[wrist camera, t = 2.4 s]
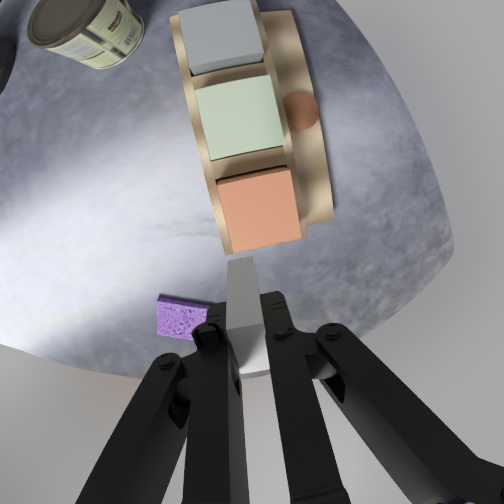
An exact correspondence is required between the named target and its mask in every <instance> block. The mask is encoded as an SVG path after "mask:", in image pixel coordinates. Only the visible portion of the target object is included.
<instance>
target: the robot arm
mask: <svg viewBox="0 0 504 504" xmlns="http://www.w3.org/2000/svg"><path fill="white" fill-rule="evenodd" d="M1 1H2V0H0V3H1ZM14 58H15V44H14V42H13V40H12V39H11V38H9V37H5V36H0V94H1V92H2V91H3V89H4V87H5V85H6V83H7V80H8V78H9V76H10V73H11V70H12V67H13V63H14ZM191 334H192V337H193V339H194V342H195V344H196V346H197V351H196V352H194V353H193V354H191V355H188V356H185V357H183V358H180V356H179V355H177V354H175V353H165V354H162V355H160V356H159V357H157V358H156V359H155V360H154V361H153V363H152V365H151V366H150V368H149V370H148V371H147V373H146V375H145V377H144V378H143V380H142V382H141V383H140V385H139V387H138V389H137V390H136V392H135V394H134V396H133V397H132V399H131V401H130V403H129V405H128V406H127V408H126V410H125V411H124V413H123V415H122V417H121V419H120V420H119V422H118V424H117V426H116V428H115V429H114V431H113V433H112V435H111V437H110V439H109V440H108V442H107V444H106V446H105V447H104V449H103V451H102V453H101V455H100V457H99V459H98V461H97V462H96V464H95V466H94V468H93V470H92V472H91V474H90V476H89V478H88V480H87V481H86V483H85V485H84V487H83V489H82V491H81V493H80V495H79V497H78V499H77V501H76V503H75V504H161V503H162V500H163V497H164V495H165V492H166V490H167V487H168V485H169V482H170V479H171V477H172V474H173V471H174V469H175V466H176V464H177V461H178V458H179V456H180V453H181V451H182V448H183V445H184V443H185V440H186V437H187V444H186V456H185V457H186V458H185V470H184V484H183V499H182V503H181V504H250V502H249V489H248V477H247V463H246V450H245V449H246V448H245V434H244V418H243V402H242V384H241V380H240V377H239V371H240V374H244V373H250V372H256V371H262V370H267V369H270V373H271V379H272V385H273V392H274V398H275V404H276V411H277V417H278V423H279V429H280V435H281V442H282V448H283V455H284V461H285V467H286V474H287V480H288V486H289V492H290V503H291V504H351V502H350V499H349V496H348V493H347V491H346V489H345V488H344V487H343V484H342V481H341V478H340V474H339V471H338V467H337V463H336V460H335V456H334V453H333V449H332V446H331V442H330V439H329V435H328V432H327V429H326V425H325V422H324V418H323V415H322V412H321V408H320V405H319V401H318V398H317V395H316V392H315V388H314V385H313V381H312V379H319V380H320V382H321V384H322V385H323V386H324V388H325V389H326V390H327V392H328V393H329V395H330V396H331V397H332V399H333V400H334V402H335V403H336V404H337V406H338V407H339V408H340V409H341V411H342V412H343V414H344V415H345V416H346V418H347V419H348V421H349V422H350V423H351V425H352V426H353V427H354V428H355V430H356V431H357V433H358V434H359V435H360V437H361V438H362V439H363V441H364V442H365V443H366V445H367V446H368V447H369V449H370V450H371V451H372V453H373V454H374V455H375V457H376V458H377V459H378V461H379V462H380V463H381V465H382V466H383V467H384V469H385V470H386V471H387V472H388V474H389V475H390V476H391V478H392V479H393V480H394V481H395V483H396V484H397V485H398V487H399V488H400V489H401V490H402V492H403V493H404V494H405V496H406V497H407V498H408V499H409V500H410V501H411V502H412V504H504V467H502V466H499V465H496V464H494V463H491V462H488V461H486V460H483V459H481V458H478V457H477V456H476V455H475V454H474V453H473V452H472V451H471V450H470V449H469V448H468V447H467V446H466V445H465V444H464V443H463V442H462V441H461V440H460V439H459V438H458V437H457V436H456V435H455V434H454V433H453V432H452V431H451V430H450V429H449V428H448V427H447V426H446V425H445V424H444V423H443V422H442V421H441V420H440V419H439V418H438V417H437V416H436V415H435V414H434V413H433V412H432V411H431V410H430V409H429V408H428V407H427V406H426V405H425V404H424V403H423V402H422V401H421V400H420V399H419V398H418V397H417V396H416V395H415V394H414V393H413V392H412V391H411V390H410V389H409V388H408V387H407V386H406V385H405V384H404V383H403V382H402V381H401V380H400V379H399V378H398V377H397V376H396V375H395V374H394V373H393V372H392V371H391V370H390V369H389V368H388V367H387V366H386V365H385V364H384V363H383V362H382V361H381V360H380V359H379V358H378V357H377V356H376V355H375V354H374V353H373V352H372V351H371V350H370V349H369V348H368V347H367V346H365V345H364V344H363V343H362V342H361V341H360V340H359V339H358V338H357V337H356V336H355V335H354V334H353V333H352V332H351V331H350V330H349V329H348V328H347V327H346V326H344V325H342V324H339V323H329V324H325V325H323V326H321V327H320V328H319V329H318V330H317V333H305V332H301V331H299V330H297V329H296V328H295V327H294V325H293V322H292V319H291V316H290V313H289V310H288V307H287V303H286V300H285V297H284V295H283V294H282V293H280V292H279V291H275V292H270V293H265V294H260V291H259V286H258V281H257V276H256V271H255V267H254V262H253V257H252V256H251V257H246V258H241V259H236V260H231V261H228V272H227V302H221V303H216V304H211V306H210V307H209V308H208V310H207V314H206V321H205V322H204V323H201V324H199V325H197V326H196V327H195V328H194V329H193V330H192V333H191Z"/></svg>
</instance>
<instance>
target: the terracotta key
mask: <svg viewBox="0 0 504 504" xmlns="http://www.w3.org/2000/svg"><path fill="white" fill-rule="evenodd" d="M217 188H218V192H219V196H220V200H221V204H222V208H223V212H224V216H225V220H226V224H227V228H228V232H229V236H230V240H231V244H232V248H233V252H234V253H237V252H241V251H246V250H250V249H255V248H259V247H264V246H268V245H273V244H277V243H282V242H286V241H291V240H295V239H300V238H301V231H300V225H299V219H298V212H297V206H296V200H295V194H294V189H293V183H292V177H291V172H290V170H289V169H287V168H285V167H283V166H277V167H272V168H266V169H262V170H257V171H252V172H247V173H243V174H238V175H234V176H229V177H225V178H221V179H219V181H218V184H217Z"/></svg>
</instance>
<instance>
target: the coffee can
mask: <svg viewBox="0 0 504 504" xmlns="http://www.w3.org/2000/svg"><path fill="white" fill-rule="evenodd" d="M143 34H144V22H143V20H142V18H141V17H140V16H139V15H138V14H137V13H136V12H135V11H134V9H133V8H132V7H131V6H130V5H129V3H128V2H127V1H126V0H40V1H39V2H38V4H37V5H36V7H35V8H34V10H33V12H32V14H31V16H30V19H29V22H28V26H27V38H28V40H29V42H30V44H31V45H33V46H34V47H37V48H42V49H47V50H50V51H52V52H55V53H58V54H61V55H63V56H66V57H69V58H71V59H74V60H76V61H79V62H81V63H84V64H86V65H88V66H90V67H92V68H95V69H107V68H111V67H113V66H116V65H118V64H120V63H122V62H123V61H124V60H126V59H127V58H128V57H129V56H131V55H132V54H133V53H134V51H135V50H136V49H137V47H138V46H139V44H140V42H141V40H142V38H143Z"/></svg>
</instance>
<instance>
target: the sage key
mask: <svg viewBox="0 0 504 504" xmlns="http://www.w3.org/2000/svg"><path fill="white" fill-rule="evenodd" d="M194 91H195V95H196V99H197V104H198V108H199V113H200V117H201V121H202V126H203V130H204V134H205V138H206V143H207V147H208V151H209V155H210V159H211V160H215V159H219V158H223V157H227V156H231V155H236V154H240V153H245V152H250V151H255V150H260V149H265V148H270V147H275V146H281V145H285V141H284V136H283V131H282V126H281V122H280V117H279V112H278V108H277V103H276V99H275V95H274V90H273V86H272V82H271V78H270V75H266V76H259V77H253V78H247V79H242V80H236V81H231V82H226V83H222V84H217V85H213V86H209V87H205V88H201V89H197V90H194Z"/></svg>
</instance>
